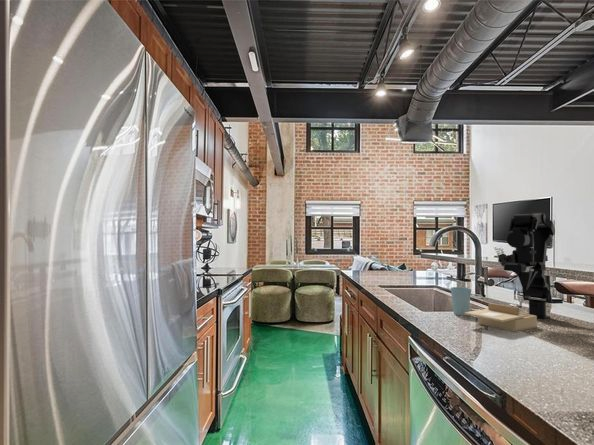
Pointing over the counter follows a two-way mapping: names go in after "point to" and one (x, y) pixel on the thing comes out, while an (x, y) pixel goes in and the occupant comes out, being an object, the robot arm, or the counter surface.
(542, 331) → the counter surface
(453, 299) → the cup
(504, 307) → the lid
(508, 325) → the box
